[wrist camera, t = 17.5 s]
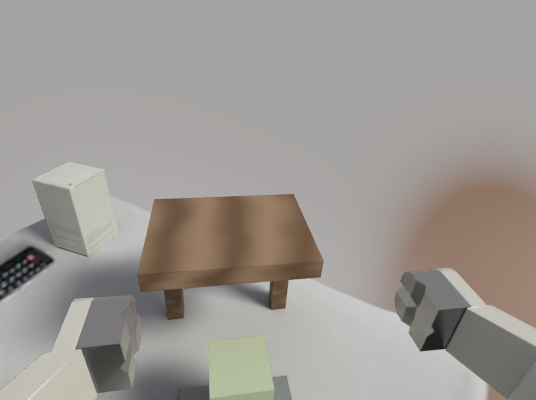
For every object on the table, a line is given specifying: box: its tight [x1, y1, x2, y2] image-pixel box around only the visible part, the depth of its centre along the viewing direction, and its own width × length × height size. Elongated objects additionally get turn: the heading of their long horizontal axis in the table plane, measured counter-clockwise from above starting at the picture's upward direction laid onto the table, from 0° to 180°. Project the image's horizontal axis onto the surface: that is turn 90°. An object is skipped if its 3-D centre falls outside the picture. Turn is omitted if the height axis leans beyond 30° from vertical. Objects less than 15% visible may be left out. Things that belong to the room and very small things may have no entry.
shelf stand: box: [138, 194, 323, 319], centre depth 39 cm, size 16×12×18 cm
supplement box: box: [32, 162, 118, 256], centre depth 56 cm, size 7×7×13 cm
